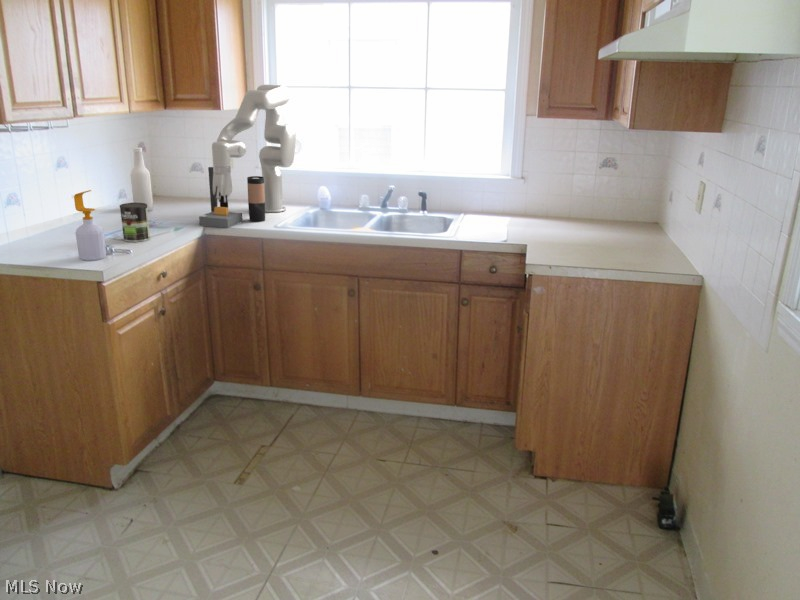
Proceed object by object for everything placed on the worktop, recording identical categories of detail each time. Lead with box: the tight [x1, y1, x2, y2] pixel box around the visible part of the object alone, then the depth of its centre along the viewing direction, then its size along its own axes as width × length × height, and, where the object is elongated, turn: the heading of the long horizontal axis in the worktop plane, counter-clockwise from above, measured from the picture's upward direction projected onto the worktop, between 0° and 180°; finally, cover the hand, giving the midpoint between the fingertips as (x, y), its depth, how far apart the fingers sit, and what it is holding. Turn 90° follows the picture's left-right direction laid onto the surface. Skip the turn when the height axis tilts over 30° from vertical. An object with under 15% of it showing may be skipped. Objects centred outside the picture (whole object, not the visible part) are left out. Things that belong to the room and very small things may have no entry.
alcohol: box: [130, 146, 154, 212], centre depth 310 cm, size 9×9×30 cm
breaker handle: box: [214, 205, 230, 215], centre depth 291 cm, size 2×6×3 cm, turn 76°
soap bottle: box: [73, 189, 107, 262], centre depth 230 cm, size 9×9×25 cm
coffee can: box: [119, 202, 151, 243], centre depth 259 cm, size 10×10×14 cm
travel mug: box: [246, 175, 266, 223], centre depth 298 cm, size 8×8×20 cm
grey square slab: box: [198, 211, 244, 229], centre depth 292 cm, size 14×14×4 cm
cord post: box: [207, 166, 219, 212], centre depth 302 cm, size 8×8×23 cm
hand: (224, 210), depth 294 cm, fingers closed
